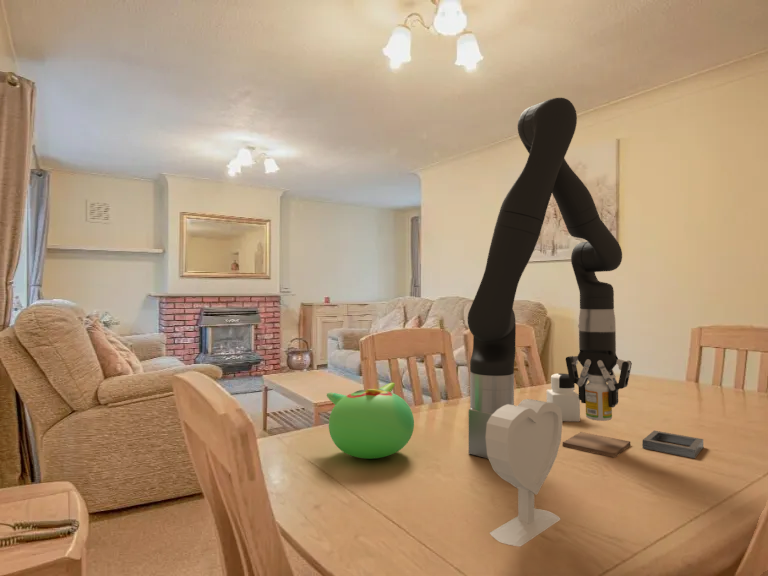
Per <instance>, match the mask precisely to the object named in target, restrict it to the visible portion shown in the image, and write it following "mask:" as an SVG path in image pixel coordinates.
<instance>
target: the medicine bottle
mask: <svg viewBox="0 0 768 576" xmlns="http://www.w3.org/2000/svg"><path fill="white" fill-rule="evenodd" d="M575 386H576V384H575V383H571V382H570V379H569V374H568V373H563V372H562V373H558V372H557V373H554V374H551V376H550V388H551V389H546V402H549V403H554V404H556V405H558V406H559V407H560V409H561V412H562V422H574V423H575V422H578V423H579V422H580V421H581V400H579V393H577V392H576V391H575V390H576V388H575Z"/></svg>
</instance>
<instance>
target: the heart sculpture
mask: <svg viewBox="0 0 768 576" xmlns="http://www.w3.org/2000/svg"><path fill="white" fill-rule="evenodd" d="M562 430H563V421H562V412H561V409H560V407H559V406H558V405H556V404H554V403H549V402H547V401H543V400H538V399H533V398H526V399H525V398H524V399H522V400H521V401H520V402H519V403H518V405H515V404H514V405H509V404H507V405H504V406H502V407H501V408H499V409H498V410H496V411H495V412H494V413H493V414H492V415H491V416H490V418H489V420H488V422H487V426H486V437H485V438H486V448H487V456H488V460H489V463H490V465H491V468H492V470H493V471H494V473H496V475H498V477H500V478H501V479H502V480H503V481H505V482H507V483H509V484H511V486H512V487H515V488H516V489H517V512H518V513H517V516H515V517H514V518H512V519H510V520H508V521H507V522H505V523H503V524H502V525H500V526H499V527H497V528H494V530H492V531H490V532H489V534H490V535H491V537H492V538H494V540H496V541H497V542H499V543H502V544H504V545H509V546H514V547H523V546H524V545H525V544H527V543H528V542H530V541H531V540H532V539H534V538H535V537H537V536H538V535H540V534H541V533H543V532H544V531H546V530H547V529H549V528H551V527H552V526H553V525H554V524H556V523H557V522H559V521H560V520H561V518H560V517H559V515H557V514H555V513H553V512H551V511H549V510H546V509H540V508H535V495H536V496H537V495H538V493H539V492H540V490H541V488H542V486H543V485H544V483H545V481H546V479H547V478H548V475H549V474H550V472H551V470H552V468H553V466H554V464H555V461H556V459H557V455H558V454H559V453H558V452H559V448H560V445H561V440H562V432H563V431H562Z"/></svg>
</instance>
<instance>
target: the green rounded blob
mask: <svg viewBox="0 0 768 576" xmlns="http://www.w3.org/2000/svg"><path fill="white" fill-rule="evenodd" d="M395 385H396V383H395V382H389V383H387V384H385V385H382V386H381V387H379V388H367V389H359V390H356V391H354V392H351V393H349V394H347V395H346V394H341V393H338V392H337V393H336V392H328V393H326V397H327V399H329V400H330V402H332V404H334V407H333V408H332V410H331V412H330V414H329V417H328V418H329V419H328V432H329V434H330V437H331V440H332V442H333V444H334V445H335V446H336V447H337V448H338V449H339V450H340V451H341V452H343V453H344V454H346V455H349V456H352V457H354V458H358V459H364V460H365V459H369V460H371V459H372V460H373V459H381V458H387V457H388V456H391V455H393V454H396V453H397V452H399V451H401V450H402V449H403V448H405V447H406V446H407V444H408V443H409V442H410V440H411V438H412V436H413V433H414V428H415V419H414V418H415V417H414V414H413V412H412V409H411V407H410V405H409V404H408V403H407V402H406V400H405V399H404V398H402V397H401V396H400V395H397V394H396V393H393V392H392V390H394V387H395Z"/></svg>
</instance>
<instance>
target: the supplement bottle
mask: <svg viewBox="0 0 768 576" xmlns="http://www.w3.org/2000/svg"><path fill="white" fill-rule="evenodd" d="M609 390H610V388H609V386H608V384H607V381H606V380H605V379H604V377H603V376H602V375H598V374H588V382H587V384H586V386H585V400H586V403H585V417H586V418H587V419H589V420H592V421H599V422H600V421H603V422H605V421H607V422H608V421H611V420H612V419H613V408H612V407H609Z"/></svg>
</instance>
